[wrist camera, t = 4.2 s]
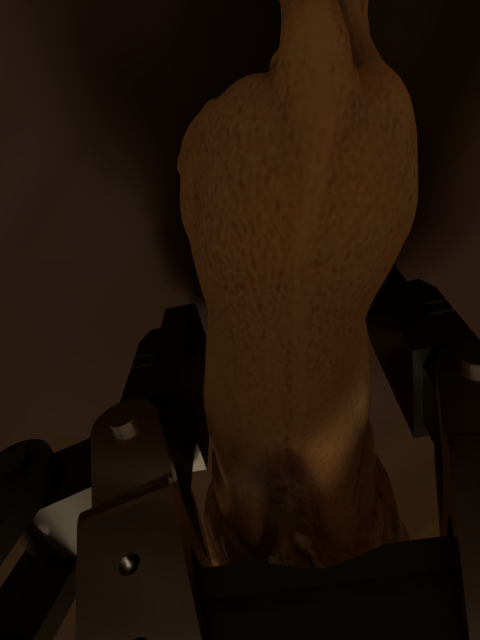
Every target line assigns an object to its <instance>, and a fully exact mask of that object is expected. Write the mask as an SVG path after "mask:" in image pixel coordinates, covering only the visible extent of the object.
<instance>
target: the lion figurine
mask: <svg viewBox="0 0 480 640" xmlns="http://www.w3.org/2000/svg"><path fill="white" fill-rule="evenodd" d="M279 2H280V6H281V22H282V23H281V34H280V45H279V49H278V50H277V51H276V52H275V53H274V55H273V57H272V59H271V63H270V66H269V70H268V72H266V73H256V74H250V75H248V76H245V77H242V78H241V79H239V80H238V81H236V82H235V83H233V84H232V85H231V86H230V87H228V88H227V89H226V90H225V91H224V92H223V93H222V94H221V95H220V96H219V97H218V98H217V99H211V100H209V101H208V102H207V103H206V104H205V105H204V107H203V108H202V110H201V111H200V113H199V114H198V115H197V116H196V117H195V118H194V119H193V120H192V122H191V123H190V125H189V126H188V128H187V130H186V133H185V135H184V137H183V140H182V145H181V150H180V153H179V156H178V161H177V170H178V171H179V173H180V210H181V219H182V223H183V225H184V228H185V231H186V233H187V236H188V238H189V241H190V245H191V250H192V255H193V260H194V264H195V267H196V271H197V275H198V278H199V282H200V285H201V289H202V293H203V296H204V298H205V301H206V305H207V309H208V331H207V338H206V357H205V377H204V389H203V395H204V408H205V414H206V420H207V425H208V431H209V436H210V439H211V442H212V445H213V452H212V480H211V483H210V485H209V488H208V492H207V496H206V503H205V510H204V514H203V523H204V528H205V534H206V539H207V543H208V546H209V550H210V553H209V554H210V557H211V561H212V565H213V566H220V565H228V564H236V563H243V562H251V561H259V562H266V563H273V564H281V565H288V566H295V567H303V568H310V569H326V568H330V567H332V566H334V565H337V564H339V563H342V562H344V561H346V560H349V559H351V558H354V557H356V556H359V555H361V554H363V553H366V552H368V551H371V550H373V549H375V548H378V547H380V546H383V545H385V544H388V543H396V542H403V541H410V537H409V535H408V532H407V529H406V527H405V526H404V524H403V522H402V521H401V520H400V516H399V512H398V508H397V504H396V500H395V497H394V494H393V490H392V487H391V483H390V480H389V477H388V474H387V472H386V470H385V468H384V467H383V465H382V464H381V462H380V459H379V458H378V456H377V455H376V453H375V449H374V432H373V429H372V426H371V424H370V422H369V420H368V417H369V411H370V401H371V369H370V359H369V348H368V338H367V331H366V324H365V319H366V315H367V312H368V310H369V308H370V306H371V304H372V302H373V299H374V297H375V296H376V294H377V292H378V291H379V289H380V287H381V286H382V284H383V282H384V280H385V279H386V277H387V275H388V274H389V272H390V270H391V268H392V266H393V264H394V262H395V260H396V258H397V256H398V254H399V252H400V250H401V248H402V246H403V244H404V242H405V240H406V238H407V236H408V234H409V232H410V230H411V227H412V224H413V220H414V217H415V213H416V207H417V202H418V152H417V127H416V122H415V116H414V110H413V106H412V102H411V98H410V95H409V92H408V91H407V89H406V87H405V85H404V83H403V81H402V79H401V78H400V76H399V75H397V74H396V73H395V72H394V71H393V70H392V69H391V68H390V67H389V66H388V65H387V64H386V63H384V61H383V59H382V57H381V56H380V54H379V52H378V51H377V49H376V47H375V46H374V43H373V41H372V39H371V37H370V30H369V22H368V0H279Z"/></svg>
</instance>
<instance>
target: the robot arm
mask: <svg viewBox="0 0 480 640" xmlns="http://www.w3.org/2000/svg"><path fill="white" fill-rule="evenodd" d="M366 322H367V329H368V334H369V338H370V341H371V344H372V347H373V349H374V351H375V353H376V356H377V358H378V360H379V362H380V364H381V367H382V369H383V371H384V373H385V375H386V378H387V380H388V382H389V384H390V386H391V389H392V391H393V393H394V395H395V397H396V400H397V402H398V404H399V406H400V408H401V411H402V413H403V415H404V417H405V419H406V422H407V424H408V426H409V428H410V431H411V433H412V435H413V437H414V438H417V437H423V436H429V435H430V437H431V439H432V441H433V444H434V464H435V477H436V491H437V504H438V517H439V530H440V537H434V538H426V539H418V540H411V541H403V542H396V543H388V544H385V545H383V546H380V547H378V548H375V549H373V550H371V551H368V552H366V553H363V554H361V555H359V556H356V557H354V558H351V559H349V560H346V561H344V562H342V563H339V564H337V565H334V566H332V567H330V568H326V569H310V568H303V567H295V566H288V565H281V564H273V563H266V562H259V561H251V562H243V563H236V564H228V565H220V566H213V565H212V561H211V557H210V554H209V550H208V546H207V542H206V539H205V535H204V531H203V527H202V524H201V520H200V516H199V512H198V509H197V505H196V501H195V497H194V494H193V492H192V490H191V480H192V472H193V471H199V470H206V469H207V462H208V447H209V431H208V425H207V420H206V414H205V408H204V395H203V389H204V377H205V357H206V335H205V332H204V329H203V326H202V323H201V319H200V316H199V313H198V310H197V307H196V305H195V304H194V303H192V304H187V305H182V306H177V307H172V308H167V309H166V311H165V314H164V318H163V322H162V325H161V328H159V329H154V330H150V331H149V332H148V334H147V335H146V336H145V337H144V338H143V339H142V340H141V341H140V343H139V345H138V348H137V352H136V355H135V357H136V358H134V361H133V364H132V369H131V370H130V373H129V376H128V379H127V382H126V386H125V389H124V392H123V395H122V398H121V401H120V403H118V404H116V405H114V406H112V407H111V408H109V409H108V410H106V411H105V412H104V413H103V414H101V415H100V417H99V418H98V419H97V420H96V421H95V423H94V425H93V427H92V429H91V435H90V438H89V439H86V440H84V441H82V442H80V443H77V444H75V445H72V446H70V447H68V448H65V449H63V450H60V451H58V452H56V453H53V451H52V449H51V448H50V446H49V445H48V443H46V442H45V441H43V440H39V439H30V440H25V441H21V442H19V443H16V444H14V445H12V446H10V447H8V448H6V449H5V450H3V451H2V452H0V565H1V564H2V562H3V561H4V560H5V558H6V557H7V555H8V554H9V553H10V551H11V550H12V548H13V547H14V545H15V544H16V543H17V541H18V540H19V541H20V542H21V544H22V545H23V546H24V547H25V549H26V551H25V552H24V554H23V555H22V556H21V558H20V559H19V561H18V562H17V564H16V565H15V567H14V568H13V570H12V571H11V573H10V574H9V576H8V577H7V579H6V580H5V582H4V583H3V585H2V586H1V588H0V640H53V638H54V637H55V635H56V633H57V631H58V629H59V627H60V625H61V624H62V622H63V620H64V618H65V616H66V614H67V612H68V611H69V609H70V607H71V605H72V603H73V601H74V599H75V598H76V614H75V640H480V340H479V339H478V337H477V336H476V335H475V334H474V333H473V331H472V330H471V329H470V328H469V327H468V325H467V324H466V323H465V322H464V321H463V319H462V318H461V317H460V316H459V314H458V313H457V312H456V311H455V310H453V307H452V306H451V305H450V304H449V302H448V301H446V300H445V298H444V296H443V295H442V294H441V293H440V292H439V290H438V289H437V288H436V287H435V286H432V285H430V284H428V283H426V282H424V281H422V280H420V279H417V280H411V281H406V280H405V278H404V277H403V275H402V274H401V273H400V271H399V270H398V269H397V267H396V266H395V265H394V264H393V266H392V268H391V270H390V272H389V274H388V275H387V277H386V279H385V280H384V282H383V284H382V286H381V287H380V289H379V291H378V292H377V294H376V296H375V297H374V299H373V302H372V304H371V306H370V308H369V310H368V312H367V315H366Z"/></svg>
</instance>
